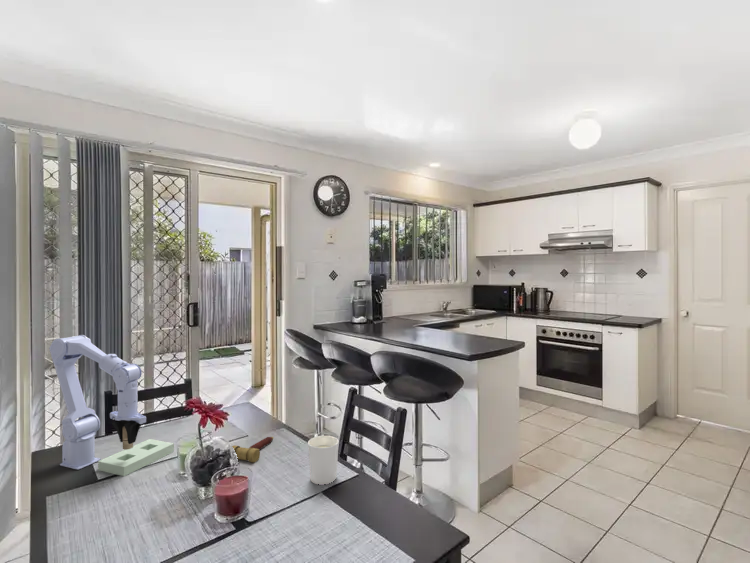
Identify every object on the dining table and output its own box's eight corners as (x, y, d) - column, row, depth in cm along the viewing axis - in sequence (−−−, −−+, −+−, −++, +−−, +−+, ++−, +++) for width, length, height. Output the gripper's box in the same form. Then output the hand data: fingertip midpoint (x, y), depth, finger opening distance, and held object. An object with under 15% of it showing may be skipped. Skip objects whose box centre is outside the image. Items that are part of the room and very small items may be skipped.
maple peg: (120, 448, 137) (119, 427, 137) (128, 445, 140) (128, 424, 140) (127, 450, 136) (126, 429, 135) (135, 446, 139) (135, 425, 138)
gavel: (262, 430, 165) (284, 433, 162) (261, 441, 165) (283, 445, 162) (228, 447, 145) (253, 451, 142) (228, 460, 145) (252, 464, 142)
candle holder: (317, 489, 125) (317, 450, 125) (302, 476, 133) (302, 440, 133) (344, 480, 131) (344, 442, 131) (329, 468, 139) (329, 433, 139)
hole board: (98, 470, 137) (98, 461, 137) (149, 446, 156) (149, 438, 156) (124, 476, 133) (124, 467, 133) (173, 451, 152) (173, 443, 152)
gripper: (100, 402, 136) (101, 443, 137) (132, 407, 131) (132, 450, 131) (120, 396, 143) (121, 435, 143) (151, 401, 138) (151, 441, 138)
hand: (127, 441), depth 138 cm, fingers closed on maple peg, 3 cm apart
